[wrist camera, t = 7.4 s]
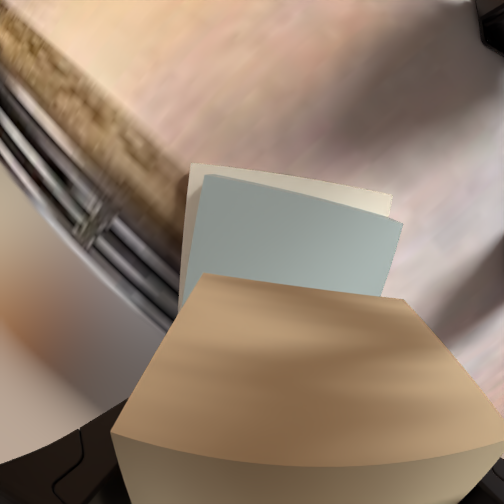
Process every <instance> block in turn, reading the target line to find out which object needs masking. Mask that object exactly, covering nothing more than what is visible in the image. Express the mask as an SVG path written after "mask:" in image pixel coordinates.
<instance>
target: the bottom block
mask: <svg viewBox="0 0 504 504" xmlns="http://www.w3.org/2000/svg"><path fill="white" fill-rule="evenodd" d="M207 174H217V175H222V176H226V177H231V178H236V179H241V180H245V181H250V182H255V183H259V184H264V185H268V186H272V187H277V188H281V189H285V190H289V191H294V192H298V193H302V194H306V195H310V196H314V197H318V198H322V199H326V200H329V201H333V202H337V203H341V204H344V205H348V206H352V207H355V208H359V209H363V210H366V211H370V212H373V213H377V214H380V215H383V216H386V217H389V213H390V208H391V202H392V196H393V195H390V194H385V193H381V192H376V191H372V190H367V189H362V188H357V187H352V186H347V185H342V184H337V183H332V182H326V181H321V180H315V179H309V178H303V177H297V176H291V175H285V174H278V173H272V172H265V171H258V170H251V169H243V168H235V167H227V166H218V165H210V164H200V163H191V166H190V174H189V182H188V191H187V200H186V210H185V220H184V231H183V243H182V255H181V269H180V284H179V302H178V314H179V312H180V310H181V308H182V301H183V294H184V288H185V281H186V275H187V269H188V262H189V256H190V250H191V244H192V239H193V233H194V227H195V222H196V216H197V211H198V206H199V201H200V195H201V190H202V185H203V180H204V175H207Z"/></svg>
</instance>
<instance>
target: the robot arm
mask: <svg viewBox="0 0 504 504" xmlns="http://www.w3.org/2000/svg"><path fill="white" fill-rule="evenodd" d="M476 4H477V10H478V17H479V24H480V32H481V39H482V42H483V43H484V45H485V46H487V47H489V48H490V49H492V50H494V51H495V52H497V53H499V54H500V55H502V56H503V57H504V0H476ZM487 40H488V41H487ZM128 399H129V398H127V399H126V400H124V401H123V402H121V403H119V404H118V405H116V406H115V407H113V408H111V409H110V410H108V411H107V412H105V413H103V414H102V415H100V416H98V417H97V418H95V419H94V420H92V421H90V422H89V423H87V424H85V425H84V426H82V427H80V430H79V429H77V430H75V431H73V432H71V433H70V434H68V435H66V436H64V437H63V438H61V439H59V440H57V441H55V442H53V443H51V444H49V445H47V446H45V447H43V448H41V449H38V450H36V451H34V452H31V453H29V454H26V455H24V456H21V457H18V458H16V459H13V460H10V461H7V462H5V463H2V464H0V504H132V503H131V500H130V497H129V494H128V491H127V488H126V485H125V482H124V479H123V476H122V473H121V470H120V466H119V463H118V459H117V456H116V452H115V449H114V445H113V441H112V437H111V433H110V431H111V429H112V428H113V426H114V424H115V422H116V420H117V419H118V417H119V415H120V413H121V411H122V410H123V408H124V406H125V404H126V403H127V401H128ZM458 504H504V459H502V458H501V457H500V458H499V459H498V460H497V462H496V463H495V464H494V465H493V466H492V468H491V469H490V470H489V471H488V472H487V473H486V475H485V476H484V477H483V478H482V479H481V480H480V481H479V482H478V483H477V484H476V486H475V487H474V488H473V489H472V490H471V491H470V492H469V493H468V494H467V495H466V496H465V497H464V498H463V499H462V500H461V501H460V502H459V503H458Z"/></svg>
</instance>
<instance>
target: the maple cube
mask: <svg viewBox="0 0 504 504" xmlns="http://www.w3.org/2000/svg"><path fill="white" fill-rule="evenodd" d="M110 433H111V437H112V441H113V445H114V449H115V452H116V456H117V459H118V463H119V466H120V470H121V473H122V476H123V479H124V482H125V485H126V488H127V491H128V494H129V497H130V500H131V503H132V504H458V503H459V502H460V501H461V500H462V499H463V498H464V497H465V496H466V495H467V494H468V493H469V492H470V491H471V490H472V489H473V488H474V487H475V486H476V484H477V483H478V482H479V481H480V480H481V479H482V478H483V477H484V476H485V475H486V473H487V472H488V471H489V470H490V469H491V468H492V466H493V465H494V464H495V463H496V462H497V460H498V459H499V458H500V457H501V456H502V454H503V453H504V419H503V418H502V416H501V415H500V414H499V412H498V411H497V410H496V408H495V407H494V406H493V404H492V403H491V402H490V400H489V399H488V398H487V397H486V395H485V394H484V393H483V391H482V390H481V389H480V388H479V386H478V385H477V384H476V383H475V381H474V380H473V379H472V378H471V376H470V375H469V374H468V373H467V371H466V370H465V369H464V368H463V367H462V365H461V364H460V363H459V362H458V361H457V359H456V358H455V357H454V356H453V355H452V353H451V352H450V351H449V350H448V349H447V348H446V346H445V345H444V344H443V343H442V342H441V341H440V339H439V338H438V337H437V336H436V335H435V334H434V333H433V331H432V330H431V329H430V328H429V327H428V326H427V325H426V324H425V322H424V321H423V320H422V319H421V318H420V317H419V316H418V315H417V314H416V312H415V311H414V310H413V309H412V308H411V307H410V306H409V305H408V304H407V303H406V302H405V301H404V299H396V298H387V297H379V296H370V295H362V294H354V293H346V292H338V291H330V290H322V289H315V288H307V287H300V286H292V285H285V284H278V283H271V282H264V281H257V280H250V279H243V278H236V277H230V276H223V275H216V274H210V273H203V274H202V276H201V277H200V279H199V281H198V282H197V284H196V286H195V287H194V289H193V290H192V292H191V294H190V295H189V297H188V299H187V300H186V302H185V304H184V305H183V307H182V309H181V310H180V312H179V314H178V315H177V317H176V319H175V320H174V322H173V324H172V325H171V327H170V329H169V330H168V332H167V334H166V335H165V337H164V339H163V340H162V342H161V344H160V346H159V347H158V349H157V351H156V352H155V354H154V356H153V357H152V359H151V361H150V363H149V364H148V366H147V368H146V370H145V371H144V373H143V375H142V376H141V378H140V380H139V382H138V383H137V385H136V387H135V389H134V390H133V392H132V394H131V396H130V397H129V399H128V401H127V403H126V404H125V406H124V408H123V410H122V411H121V413H120V415H119V417H118V419H117V420H116V422H115V424H114V426H113V428H112V429H111V431H110Z"/></svg>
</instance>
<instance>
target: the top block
mask: <svg viewBox="0 0 504 504" xmlns="http://www.w3.org/2000/svg"><path fill="white" fill-rule="evenodd" d="M402 227H403V224H402V223H400V222H398V221H396V220H393V219H391V218H389V217H386V216H383V215H380V214H377V213H373V212H370V211H366V210H363V209H359V208H355V207H352V206H348V205H344V204H341V203H337V202H333V201H329V200H326V199H322V198H318V197H314V196H310V195H306V194H302V193H298V192H294V191H289V190H285V189H281V188H277V187H272V186H268V185H264V184H259V183H255V182H250V181H245V180H241V179H236V178H231V177H226V176H222V175H217V174H207V175H204V180H203V185H202V190H201V195H200V201H199V206H198V211H197V216H196V222H195V227H194V233H193V239H192V244H191V250H190V256H189V262H188V269H187V275H186V281H185V288H184V294H183V301H182V307H183V305H184V304H185V302H186V300H187V299H188V297H189V295H190V294H191V292H192V290H193V289H194V287H195V286H196V284H197V282H198V281H199V279H200V277H201V276H202V274H203V273H210V274H216V275H223V276H230V277H236V278H243V279H250V280H257V281H264V282H271V283H278V284H285V285H292V286H300V287H307V288H315V289H322V290H330V291H338V292H346V293H354V294H362V295H370V296H379V297H380V296H381V293H382V290H383V287H384V284H385V281H386V279H387V276H388V273H389V270H390V266H391V263H392V260H393V257H394V254H395V251H396V247H397V244H398V241H399V237H400V234H401V230H402ZM181 309H182V308H181Z"/></svg>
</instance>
